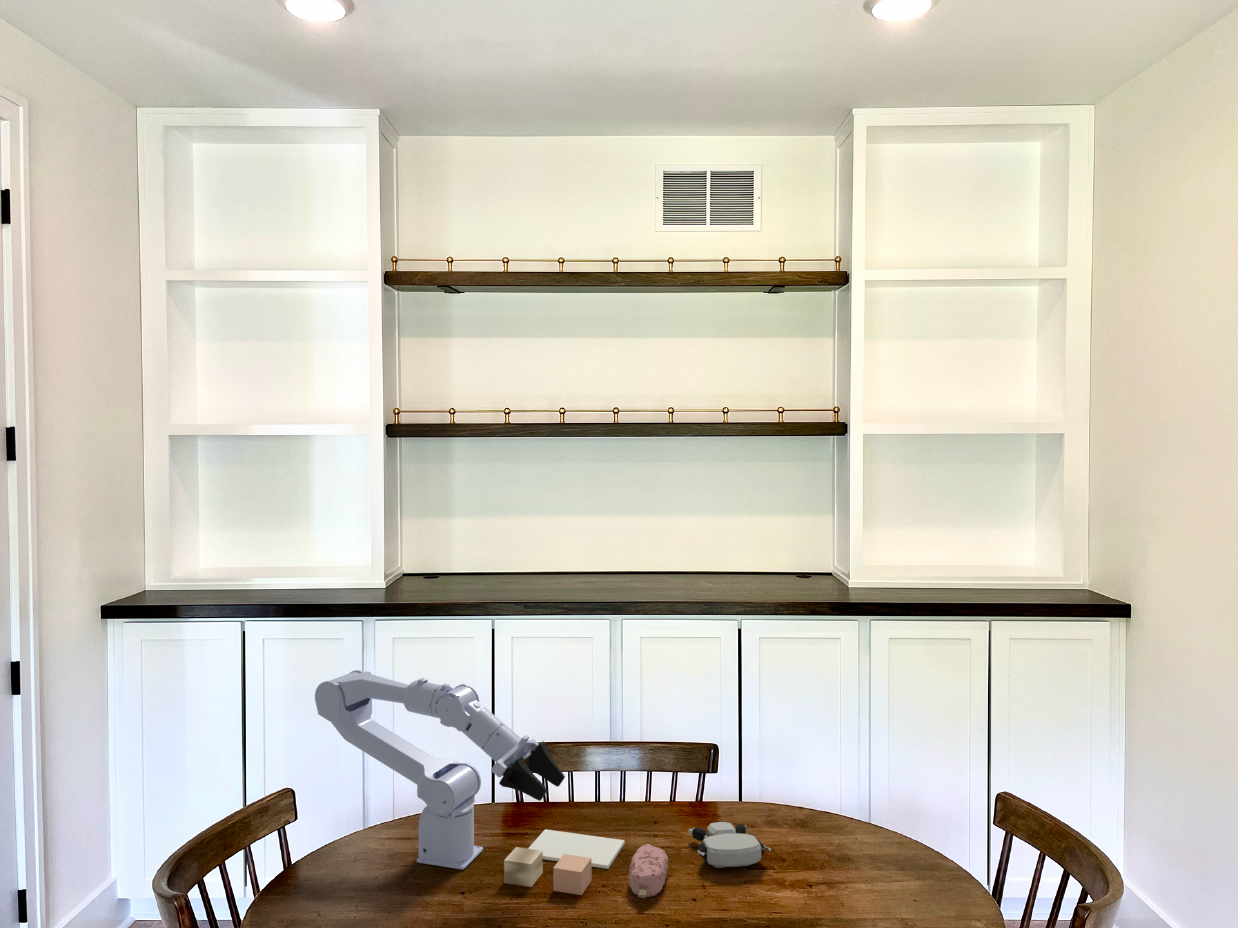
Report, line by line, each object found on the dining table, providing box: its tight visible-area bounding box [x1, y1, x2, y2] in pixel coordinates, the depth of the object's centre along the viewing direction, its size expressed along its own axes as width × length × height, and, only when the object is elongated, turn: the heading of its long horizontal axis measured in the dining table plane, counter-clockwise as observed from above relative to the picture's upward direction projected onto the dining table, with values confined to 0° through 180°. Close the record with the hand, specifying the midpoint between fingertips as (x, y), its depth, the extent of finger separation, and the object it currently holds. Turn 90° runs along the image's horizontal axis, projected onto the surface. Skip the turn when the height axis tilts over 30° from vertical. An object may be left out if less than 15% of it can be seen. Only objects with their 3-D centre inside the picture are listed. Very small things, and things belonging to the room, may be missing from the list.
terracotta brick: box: [552, 854, 593, 896], centre depth 144 cm, size 5×5×4 cm
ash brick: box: [503, 846, 544, 888], centre depth 147 cm, size 5×5×4 cm
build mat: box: [527, 829, 626, 870], centre depth 157 cm, size 16×10×1 cm, turn 73°
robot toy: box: [687, 821, 771, 869], centre depth 154 cm, size 12×4×15 cm
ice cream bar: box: [627, 843, 669, 899], centre depth 144 cm, size 6×4×15 cm
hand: (552, 788), depth 146 cm, fingers open, 7 cm apart
